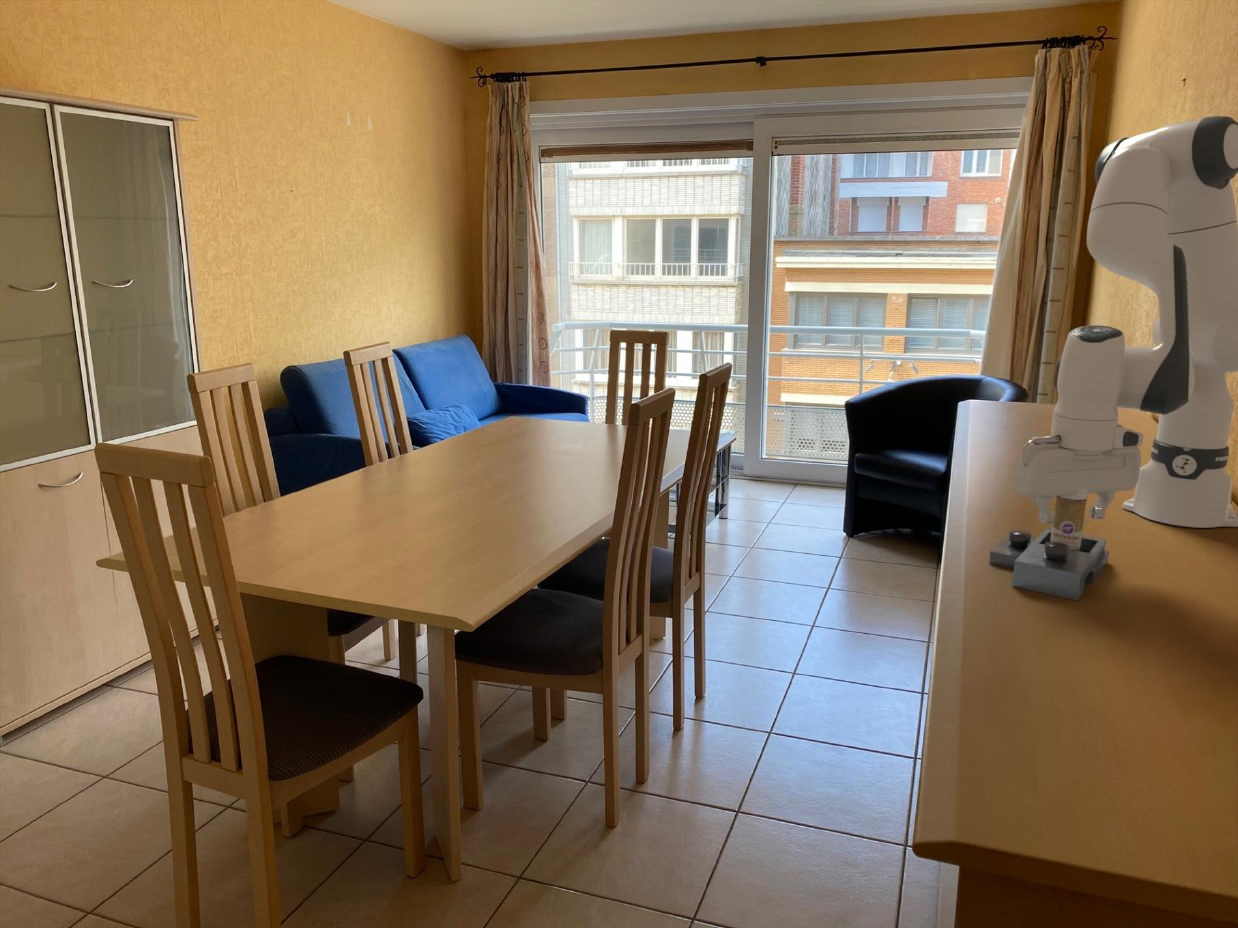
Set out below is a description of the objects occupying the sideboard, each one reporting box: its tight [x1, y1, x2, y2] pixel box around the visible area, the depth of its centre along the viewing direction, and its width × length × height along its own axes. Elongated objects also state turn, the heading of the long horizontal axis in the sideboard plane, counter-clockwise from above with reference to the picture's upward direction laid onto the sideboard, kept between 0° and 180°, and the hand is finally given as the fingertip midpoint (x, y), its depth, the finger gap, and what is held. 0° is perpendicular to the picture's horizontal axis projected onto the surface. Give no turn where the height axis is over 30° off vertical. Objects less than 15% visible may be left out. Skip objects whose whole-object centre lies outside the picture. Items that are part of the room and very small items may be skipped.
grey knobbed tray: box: [988, 529, 1110, 585], centre depth 145 cm, size 12×15×4 cm
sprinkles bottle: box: [1050, 489, 1089, 551], centre depth 143 cm, size 5×5×14 cm
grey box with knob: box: [1011, 528, 1107, 601], centre depth 140 cm, size 19×9×6 cm, turn 143°
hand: (1071, 520), depth 142 cm, fingers open, 8 cm apart
